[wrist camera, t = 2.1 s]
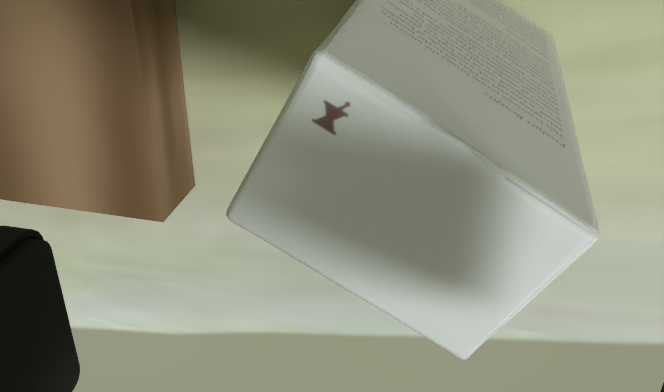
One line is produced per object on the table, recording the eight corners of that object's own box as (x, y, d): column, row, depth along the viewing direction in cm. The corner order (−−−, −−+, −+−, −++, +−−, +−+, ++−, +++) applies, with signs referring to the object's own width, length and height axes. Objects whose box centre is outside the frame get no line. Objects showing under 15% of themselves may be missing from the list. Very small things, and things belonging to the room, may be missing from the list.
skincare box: (341, 43, 23) (211, 215, 13) (406, -65, 20) (312, 38, 10) (482, 135, 23) (465, 371, 13) (561, 38, 21) (613, 234, 11)
